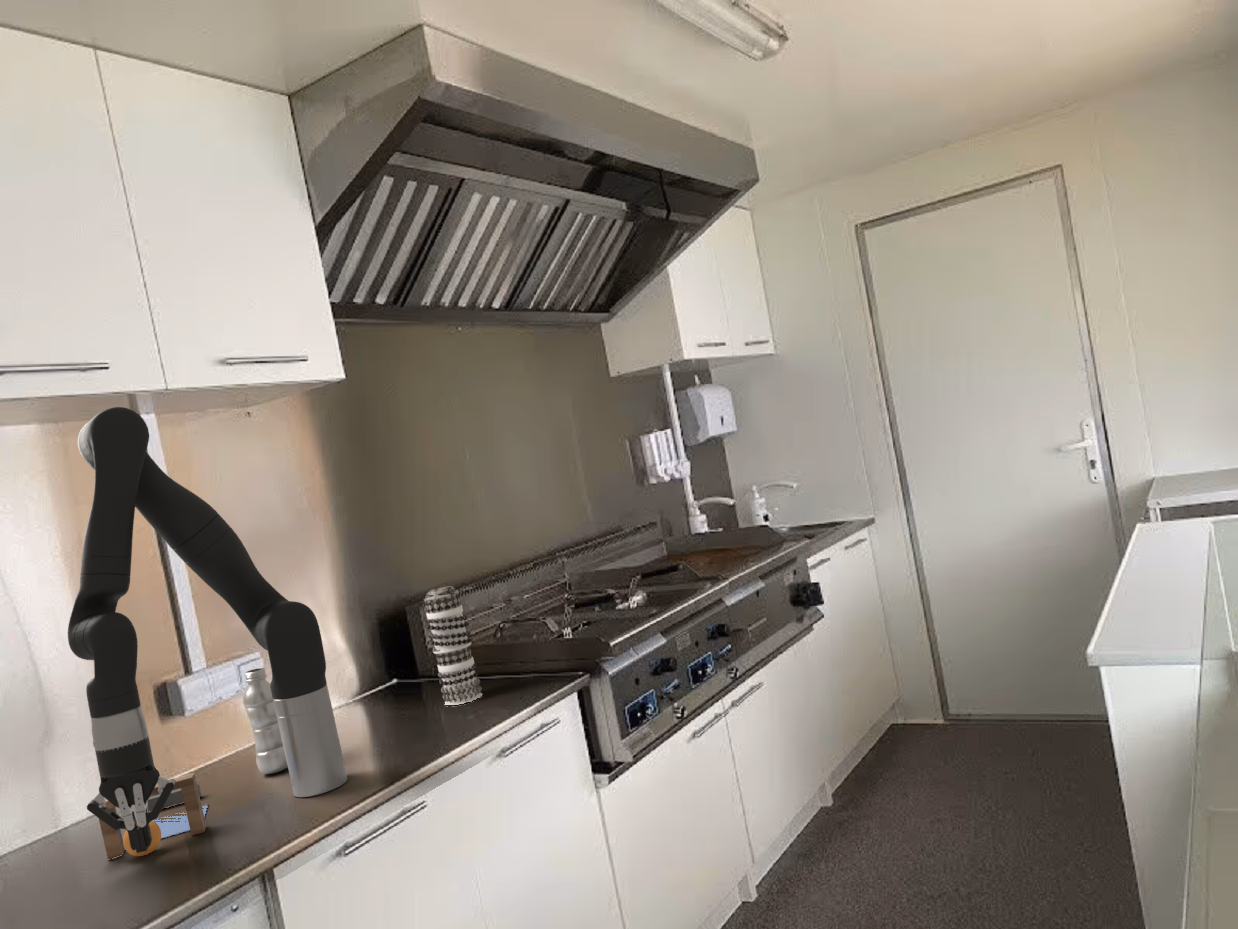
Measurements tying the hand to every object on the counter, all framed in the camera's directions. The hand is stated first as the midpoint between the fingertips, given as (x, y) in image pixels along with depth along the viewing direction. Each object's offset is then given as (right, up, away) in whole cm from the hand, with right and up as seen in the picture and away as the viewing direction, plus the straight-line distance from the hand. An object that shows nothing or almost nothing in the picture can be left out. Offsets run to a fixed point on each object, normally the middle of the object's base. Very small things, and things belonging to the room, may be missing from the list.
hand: (142, 850), depth 154 cm
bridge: (-1, -2, +8) cm, 8 cm away
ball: (-2, +1, +4) cm, 4 cm away
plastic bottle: (+8, +1, +37) cm, 38 cm away
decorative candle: (+40, +8, +64) cm, 76 cm away
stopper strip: (-8, -3, +28) cm, 30 cm away
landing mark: (-4, -2, +16) cm, 16 cm away
